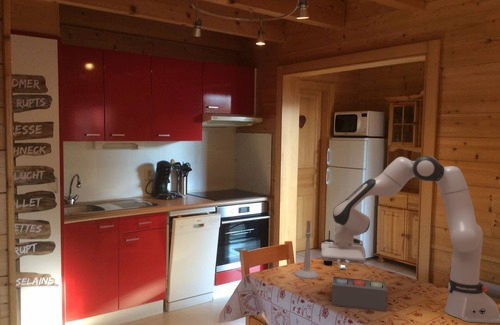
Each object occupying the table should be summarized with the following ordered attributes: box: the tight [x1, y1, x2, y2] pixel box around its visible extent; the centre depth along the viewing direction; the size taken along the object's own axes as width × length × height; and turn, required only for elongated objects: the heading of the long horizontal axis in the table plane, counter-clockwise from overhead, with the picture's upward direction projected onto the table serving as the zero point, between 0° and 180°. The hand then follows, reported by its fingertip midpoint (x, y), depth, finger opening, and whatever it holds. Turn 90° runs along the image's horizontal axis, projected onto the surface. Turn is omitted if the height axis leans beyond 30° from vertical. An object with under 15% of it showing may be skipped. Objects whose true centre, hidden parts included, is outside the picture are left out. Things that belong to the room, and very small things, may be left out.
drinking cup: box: [321, 230, 334, 267], centre depth 251 cm, size 8×8×20 cm
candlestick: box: [294, 219, 319, 280], centre depth 230 cm, size 13×13×30 cm
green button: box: [371, 282, 382, 288], centre depth 190 cm, size 5×5×4 cm
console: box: [330, 276, 388, 312], centre depth 192 cm, size 23×12×9 cm, turn 76°
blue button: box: [336, 277, 347, 284], centre depth 194 cm, size 5×5×4 cm
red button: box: [353, 279, 365, 286], centre depth 192 cm, size 5×5×4 cm
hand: (342, 269), depth 193 cm, fingers closed
